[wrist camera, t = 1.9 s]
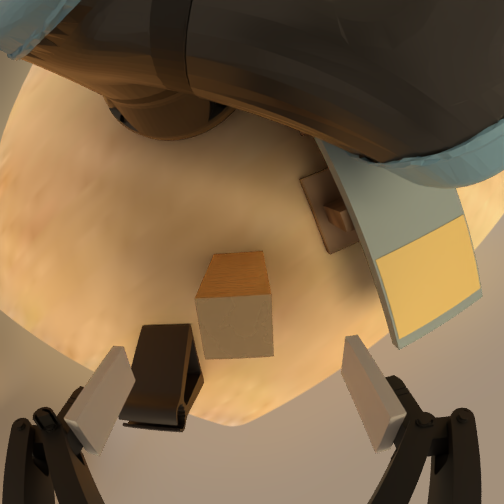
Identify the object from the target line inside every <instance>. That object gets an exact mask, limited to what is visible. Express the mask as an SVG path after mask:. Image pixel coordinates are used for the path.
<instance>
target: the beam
mask: <svg viewBox="0 0 504 504" xmlns="http://www.w3.org/2000/svg"><path fill="white" fill-rule="evenodd" d="M313 137H314V136H313ZM314 139H315V141H316V143H317V145H318V147H319V149H320V151H321V153H322V155H323V157H324V159H325V161H326V163H327V165H328V167H329V170H330V172H331V174H332V176H333V178H334V180H335V183H336V185H337V187H338V189H339V192H340V194H341V196H342V198H343V201H344V203H345V205H346V208H347V210H348V213H349V215H350V217H351V220H352V222H353V225H354V227H355V230H356V232H357V235H358V238H359V240H360V243H361V246H362V248H363V251H364V254H365V256H366V259H367V262H368V265H369V268H370V270H371V273H372V276H373V279H374V282H375V285H376V288H377V291H378V295H379V298H380V301H381V304H382V308H383V311H384V314H385V318H386V321H387V325H388V328H389V332H390V336H391V339H392V343H393V344H394V345H395V346H396V347H397V348H398V349H399V350H400V349H402V348H403V347H405V346H407V345H409V344H411V343H412V342H414V341H416V340H418V339H419V338H421V337H423V336H424V335H426V334H428V333H430V332H431V331H433V330H434V329H436V328H438V327H439V326H441V325H442V324H444V323H445V322H447V321H448V320H450V319H451V318H453V317H455V316H456V315H457V314H459V313H460V312H462V311H463V310H465V309H466V308H467V307H469V306H470V305H472V304H473V303H474V302H476V301H477V300H479V299H480V298H481V297H482V290H481V283H480V278H479V272H478V267H477V262H476V257H475V252H474V248H473V244H472V240H471V236H470V232H469V228H468V225H467V221H466V218H465V215H464V211H463V208H462V205H461V202H460V199H459V196H458V193H457V190H456V188H451V189H441V188H434V187H425V186H421V185H418V184H415V183H412V182H410V181H408V180H406V179H404V178H402V177H400V176H398V175H396V174H394V173H392V172H390V171H388V170H386V169H384V168H380V167H376V166H375V167H374V166H370V165H366V164H364V163H362V162H359V161H357V160H355V159H353V158H352V157H350V156H349V155H348V154H347V153H346V151H345V150H343V149H341V148H339V147H336V146H334V145H332V144H330V143H327V142H325V141H323V140H321V139H318V138H316V137H314Z"/></svg>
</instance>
